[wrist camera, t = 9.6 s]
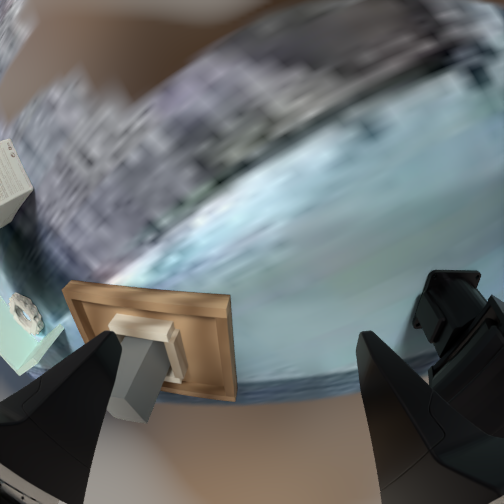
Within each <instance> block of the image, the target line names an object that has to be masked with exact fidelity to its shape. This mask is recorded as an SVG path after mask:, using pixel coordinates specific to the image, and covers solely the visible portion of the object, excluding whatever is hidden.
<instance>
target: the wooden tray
mask: <svg viewBox="0 0 504 504" xmlns="http://www.w3.org/2000/svg"><path fill="white" fill-rule="evenodd" d="M62 292H63V294H64V297H65V299H66V302H67V304H68V307H69V309H70V312H71V314H72V316H73V319H74V321H75V323H76V325H77V328H78V330H79V332H80V334H81V336H82V338H83V341H84V343H85V344H86V343H87V342H89V341H90V340H92V339H93V338H94V337H96V336H97V335H99V334H100V333H101V332H103V331H105V330H108V331H114V332H115V333H116V335H117V337H118V339H119V341H120V343H121V342H122V341H123V339H124V338H125V336H131V337H137V338H143V339H149V340H155V341H162V342H164V344H165V348H166V351H167V354H168V358H169V361H170V364H171V365H170V367H169V370H168V372H167V374H166V377H165V379H164V382H163V384H162V387H161V389H160V391H165V392H170V393H176V394H182V395H188V396H194V397H201V398H208V399H215V400H224V401H233V402H235V400H236V394H237V377H236V365H235V353H234V340H233V327H232V313H231V299H230V295H225V294H210V293H195V292H182V291H170V290H159V289H148V288H137V287H127V286H118V285H109V284H100V283H92V282H83V281H76V280H71V281H70V282H69V283H68V284H67V285H66V286H65V287H64V288H63V289H62Z"/></svg>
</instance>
